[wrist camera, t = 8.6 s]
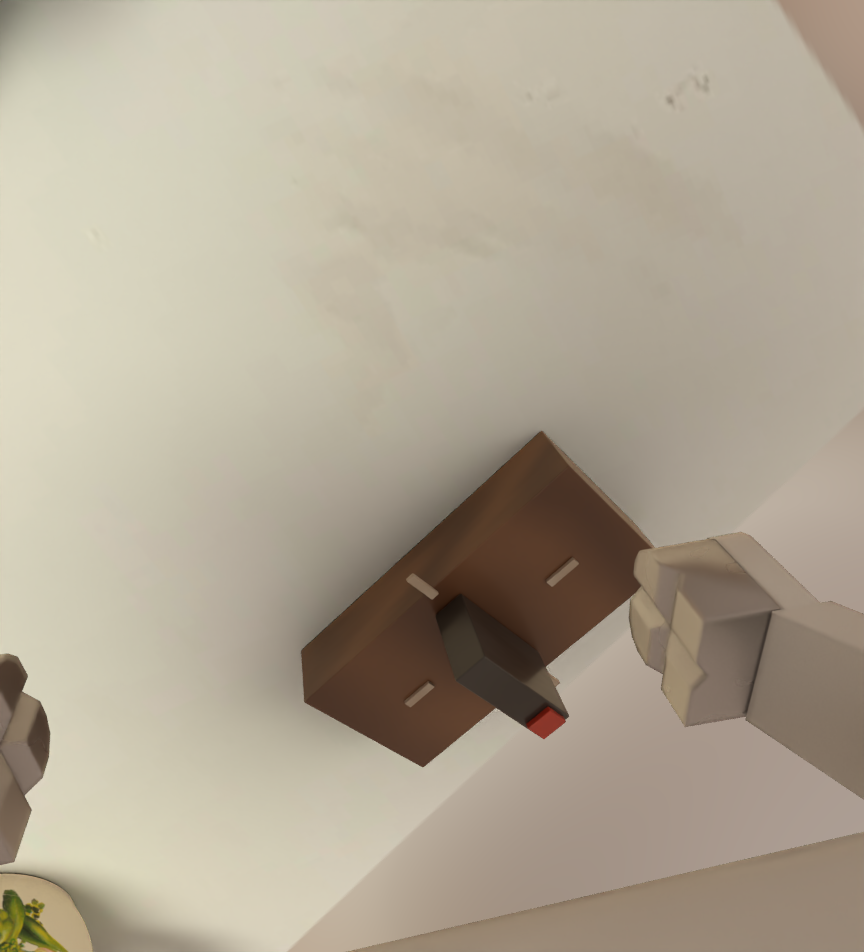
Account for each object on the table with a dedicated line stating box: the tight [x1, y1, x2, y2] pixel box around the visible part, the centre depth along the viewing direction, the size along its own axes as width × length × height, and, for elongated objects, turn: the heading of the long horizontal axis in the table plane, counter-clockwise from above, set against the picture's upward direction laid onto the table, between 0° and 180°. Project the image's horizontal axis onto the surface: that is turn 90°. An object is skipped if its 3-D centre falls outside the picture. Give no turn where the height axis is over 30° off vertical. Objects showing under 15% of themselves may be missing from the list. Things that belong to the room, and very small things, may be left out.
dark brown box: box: [435, 594, 569, 739], centre depth 27 cm, size 5×1×4 cm, turn 43°
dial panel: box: [301, 431, 655, 767], centre depth 29 cm, size 14×9×3 cm, turn 133°
